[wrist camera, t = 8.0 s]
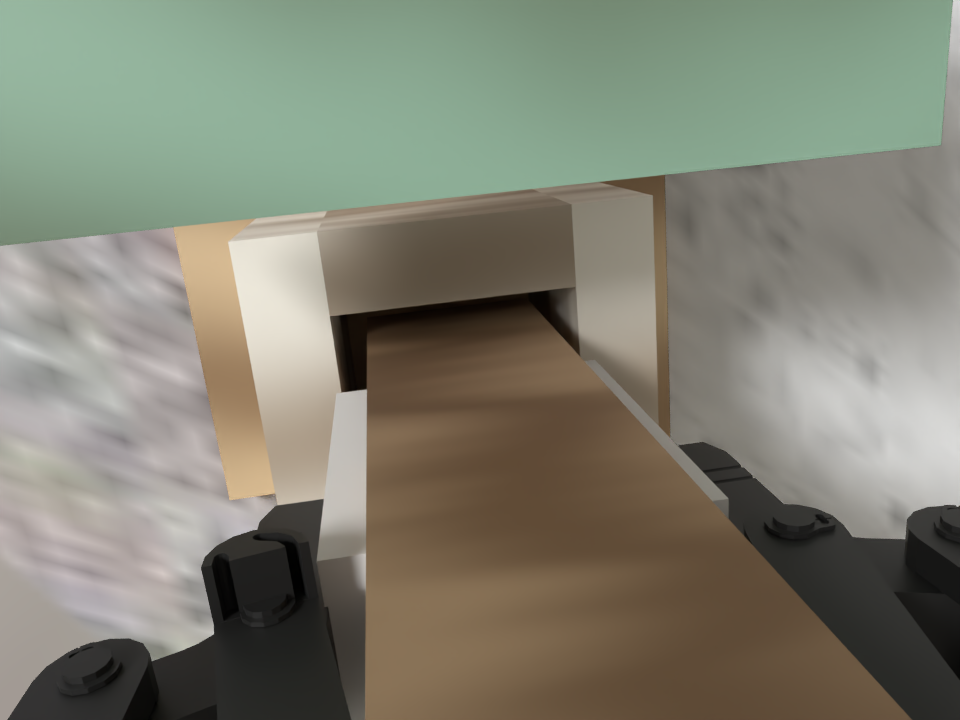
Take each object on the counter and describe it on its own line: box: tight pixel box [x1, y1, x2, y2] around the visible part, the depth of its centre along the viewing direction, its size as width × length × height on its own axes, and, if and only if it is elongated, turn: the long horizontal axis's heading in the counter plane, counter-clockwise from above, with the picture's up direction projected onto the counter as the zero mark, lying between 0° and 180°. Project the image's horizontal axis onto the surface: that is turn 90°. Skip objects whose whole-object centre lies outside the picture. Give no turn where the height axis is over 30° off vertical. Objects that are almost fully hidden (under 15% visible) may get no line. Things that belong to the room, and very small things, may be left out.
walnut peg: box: [365, 298, 912, 720], centre depth 13 cm, size 4×4×15 cm
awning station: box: [0, 0, 953, 505], centre depth 17 cm, size 19×14×13 cm
